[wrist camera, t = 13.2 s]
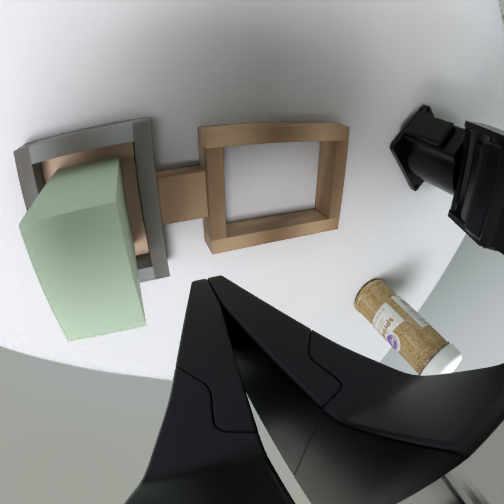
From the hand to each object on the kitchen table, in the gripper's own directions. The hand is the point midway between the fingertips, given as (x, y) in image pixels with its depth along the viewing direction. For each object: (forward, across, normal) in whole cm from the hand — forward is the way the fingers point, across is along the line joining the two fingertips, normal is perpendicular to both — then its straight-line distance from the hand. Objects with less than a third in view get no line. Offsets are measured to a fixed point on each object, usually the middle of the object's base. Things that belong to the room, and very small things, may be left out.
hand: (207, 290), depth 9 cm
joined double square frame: (+12, -1, +1) cm, 12 cm away
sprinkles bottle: (+13, -20, +16) cm, 29 cm away
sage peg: (+12, +4, +1) cm, 13 cm away
